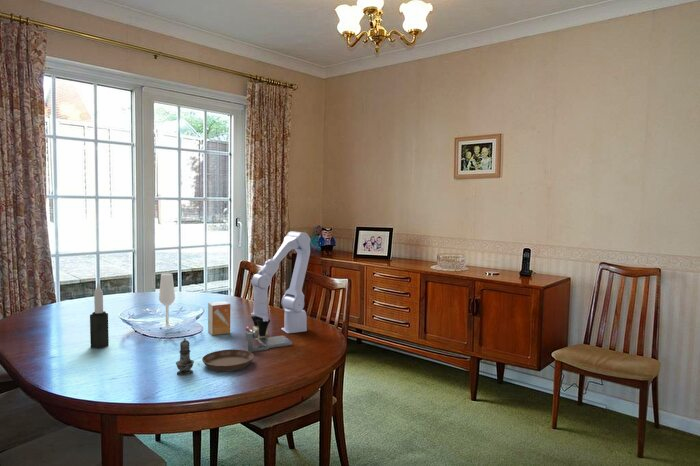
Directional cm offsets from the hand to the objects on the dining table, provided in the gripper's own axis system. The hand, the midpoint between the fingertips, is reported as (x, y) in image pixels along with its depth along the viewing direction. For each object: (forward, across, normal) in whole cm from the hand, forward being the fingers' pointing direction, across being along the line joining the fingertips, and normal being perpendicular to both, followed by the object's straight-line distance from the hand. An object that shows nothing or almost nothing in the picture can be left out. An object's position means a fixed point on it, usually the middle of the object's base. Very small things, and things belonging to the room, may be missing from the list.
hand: (260, 334), depth 203 cm
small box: (+2, -14, -14) cm, 20 cm away
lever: (-3, +11, -7) cm, 13 cm away
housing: (+1, 0, 0) cm, 1 cm away
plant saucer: (+2, +26, -20) cm, 33 cm away
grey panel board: (+1, +11, -1) cm, 11 cm away
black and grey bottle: (+2, -14, -60) cm, 62 cm away
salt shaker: (+2, +28, -35) cm, 45 cm away
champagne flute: (+2, -31, -33) cm, 45 cm away
